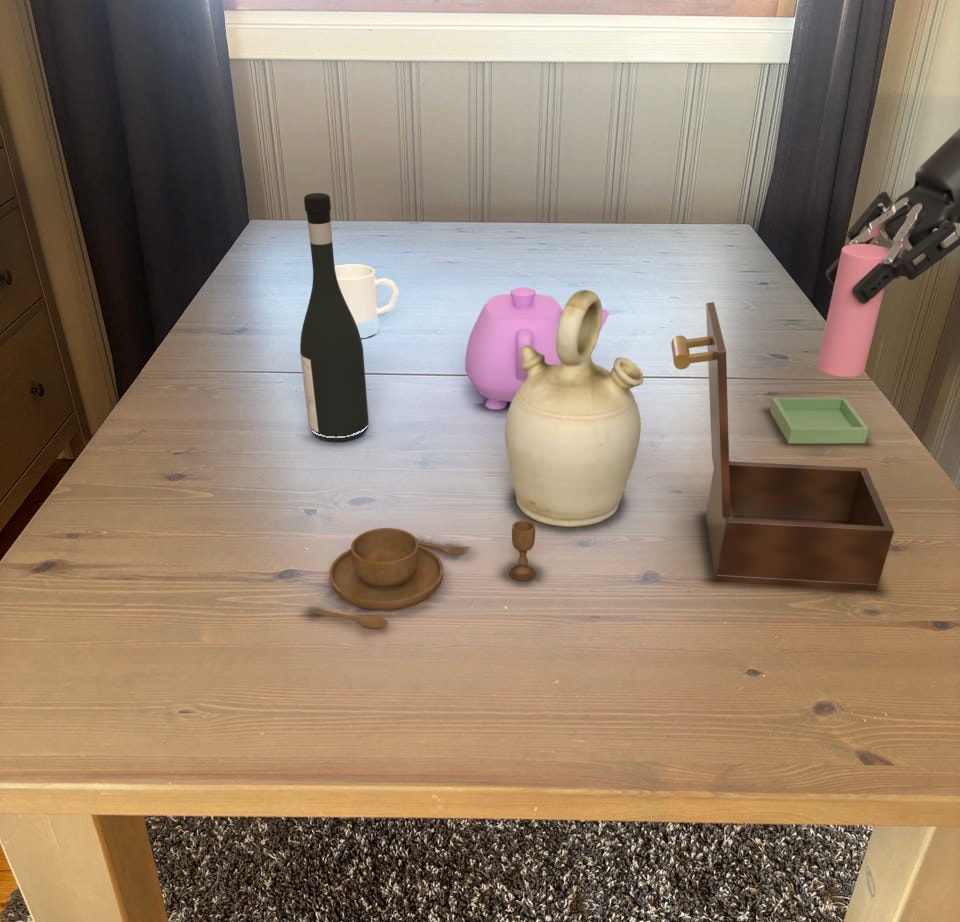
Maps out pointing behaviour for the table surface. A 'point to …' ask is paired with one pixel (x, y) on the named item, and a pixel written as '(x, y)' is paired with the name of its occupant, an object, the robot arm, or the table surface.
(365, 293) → the mug
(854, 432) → the tray
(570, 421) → the jug
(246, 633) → the table surface
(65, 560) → the table surface
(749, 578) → the chest
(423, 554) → the place setting
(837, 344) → the tube
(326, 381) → the wine bottle
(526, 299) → the teapot
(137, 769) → the table surface
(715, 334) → the chest lid
